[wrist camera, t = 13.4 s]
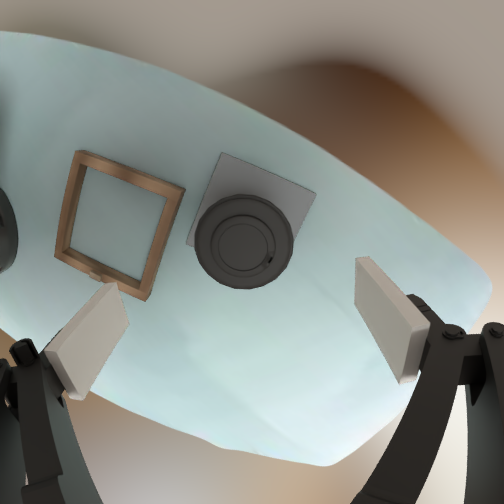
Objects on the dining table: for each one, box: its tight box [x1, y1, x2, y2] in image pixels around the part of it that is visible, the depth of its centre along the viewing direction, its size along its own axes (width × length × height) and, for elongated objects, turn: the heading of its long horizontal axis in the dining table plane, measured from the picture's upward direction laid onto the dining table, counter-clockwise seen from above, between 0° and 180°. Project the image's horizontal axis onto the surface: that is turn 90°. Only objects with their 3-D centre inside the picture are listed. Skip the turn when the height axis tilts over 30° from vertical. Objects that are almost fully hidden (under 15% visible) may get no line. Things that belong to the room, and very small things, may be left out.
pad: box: [186, 153, 316, 248], centre depth 33 cm, size 11×11×1 cm
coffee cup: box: [194, 194, 294, 289], centre depth 28 cm, size 8×8×10 cm
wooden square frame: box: [54, 150, 186, 302], centre depth 32 cm, size 14×14×3 cm
